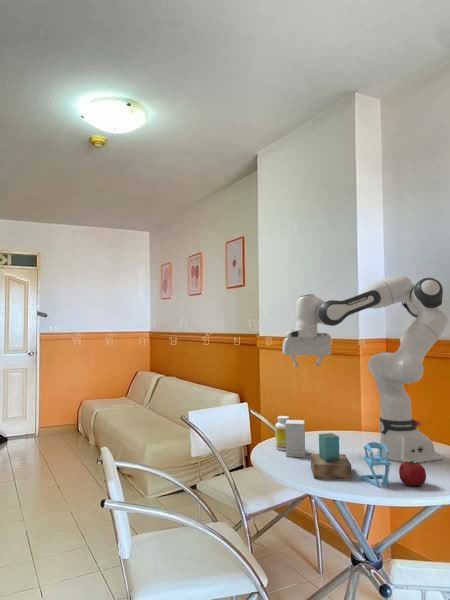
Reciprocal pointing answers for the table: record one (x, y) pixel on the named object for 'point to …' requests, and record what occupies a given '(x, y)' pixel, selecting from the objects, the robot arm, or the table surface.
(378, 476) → the chair
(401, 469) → the tomato
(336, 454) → the spice tin
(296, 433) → the supplement box
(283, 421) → the supplement bottle
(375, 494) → the table surface
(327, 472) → the walnut block
